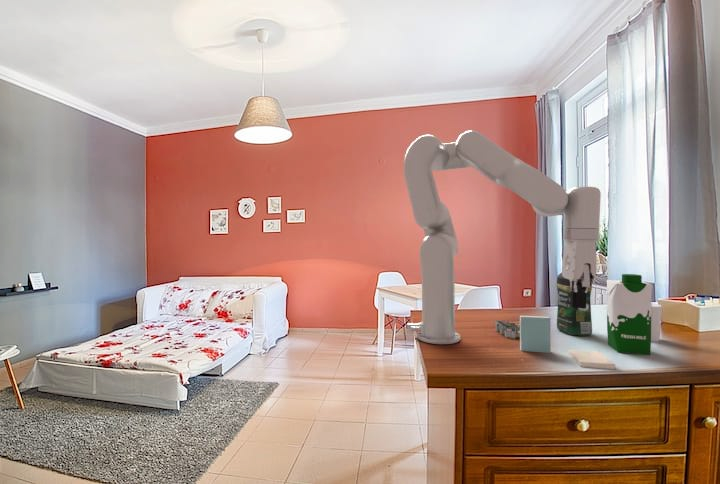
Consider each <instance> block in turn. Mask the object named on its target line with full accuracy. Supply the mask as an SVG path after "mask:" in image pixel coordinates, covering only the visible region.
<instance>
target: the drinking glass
mask: <svg viewBox="0 0 720 484" xmlns="http://www.w3.org/2000/svg"><path fill="white" fill-rule="evenodd" d="M661 319H662V305H661V304H658V303H652V302H651V343H652V342H653V343H654V342H659V341H661V321H662V320H661Z"/></svg>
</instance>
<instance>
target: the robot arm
mask: <svg viewBox="0 0 720 484" xmlns="http://www.w3.org/2000/svg"><path fill="white" fill-rule="evenodd" d="M471 167H472V168H473V169H474V170H476V171H477V172H478V173H480V174H482V175H483V176H484V177H485V178H486V179H488V180H490V182H492V183H494V184H496V185H497V186H499V187H503V188H506V189H508V190H510V191H511V192H512V193H515V194H516V195H518V196H519V197H521V198H522V199H523V200H524V201H526V202H528V203H529V204H530V205H531V207H532V210H533V211H534V212H535V213H536V214H537V215H539V216H541V217H555V216H564V226H563V242H565V244H564V247H563V248H564V249H563V258H562V268H561V273H562V276H563V277H564V278H567V279H569V281H570V290H571V291H570V306H571V307H573V308H586V299H587V290H588V287H590V282H592V283H593V282H594V281H595V280H596V276H597V244H596V243H599V240H600V239H599V238H600V221H601V220H600V216H601V195H602V193H601V190H600V188H598V187H595V186H576V187H575V186H574V187H571V188H569V189H567V190H566V189H565V188H564V187H563V185H561V184H560V183H558V182H556V181H555V180H553V179H552V178H551V177H549V176H547V175H546V174H545V173H543V172H541V171H540V170H538V169H537V168H535V167H534V166H533V165H530V164H528V163H526V162H525V161H523V160H521V159H520V158H518V157H515V156H514V155H513V154H511V153H510V152H508V151H507V150H505V149H504V148H502V147H501V146H500V145H498V144H497V143H495V142H494V141H493V140H491V139H489V138H488V137H487V136H485V135H484V134H482V133H480V132H479V131H476V130H466V131H464V132H463V133H461V134H460V135H459V136H458V138H457V139H456V141H454V142H449V143H448V142H447V143H443V142H442V140H441V139H439V138H438V137H436V136H435V135H432V134H423V135H421V136H418V138H416V139H415V140H414V141H412V143H411V144H410V146H409V147H408V148H407V150H406V153H405V155H404V160H403V175H404V181H405V184H406V187H407V189H406V190H407V191H408V197H409V201H410V204H411V209H412V213H413V217H414V222H415V223H416V224H417V226H418V227H420V228H422V229H423V232H424V238H423V240H422V242H421V243H420V245H419V246H420V247H419V260H420V267H421V269H420V270H421V322H418V323H414V322H408V323H407V326H406V327H407V330H410V331H411V332H417V333H416V338H417V339H418V340H419V341H422V342H424V343H428V344H433V345H452V344H457V343H458V342H460V341H461V335H460V333H458V332H457V331H456V313H455V311H456V310H455V309H456V305H455V304H456V301H455V299H456V298H455V291H456V290H455V267H454V266H455V265H454V263H455V262H454V258H455V257H456V256H457V254H458V251H459V243H458V239H457V235H456V231H455V228H454V224H453V219H452V218H451V217H452V216H451V213H450V210H449V208H448V207H447V206H446V204H445V203H443V202H442V201H441V198H440V195H439V193H438V189H437V185H436V179H435V177H434V174H433V171H434V172H435V171H436V172H440V171H447V170H457V169H458V170H459V169H465V168H466V169H467V168H471Z"/></svg>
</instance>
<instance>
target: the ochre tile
mask: <svg viewBox="0 0 720 484" xmlns="http://www.w3.org/2000/svg"><path fill="white" fill-rule="evenodd" d="M567 355H569V357H571V359H572V360H573V361H576V362H577V363H578V364H577V363H576V362H575V363H576V364H577V365H578V366H579V367H584V368H593V369H594V368H596V369H597V368H598V369H610V370H616V364H615V363H614V362H613V361H612V360H611V359H610V358H608V357H607V356H605V355H604V354H603V353H601V351H595V350H580V349H579V350H576V349H568V350H567Z"/></svg>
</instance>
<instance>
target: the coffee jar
mask: <svg viewBox="0 0 720 484" xmlns="http://www.w3.org/2000/svg"><path fill="white" fill-rule="evenodd" d="M556 290H557V314H556V328H557V329H558V330H559V331H561V332H563V333H564V334H565V333H566V334H568V335H571V336H579V337H588V336H589V335H592V334H593V321H592V320H593V319H592V308H591V307H592V304H591V296H592V290H593V281H592V282H590V287H588V290H587V299H586V308H573V307H571V306H570V291H571V290H570V281H569V279H567V278H564V277H563V276H562V272H561V273H559V274H558V275H557V277H556Z"/></svg>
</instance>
